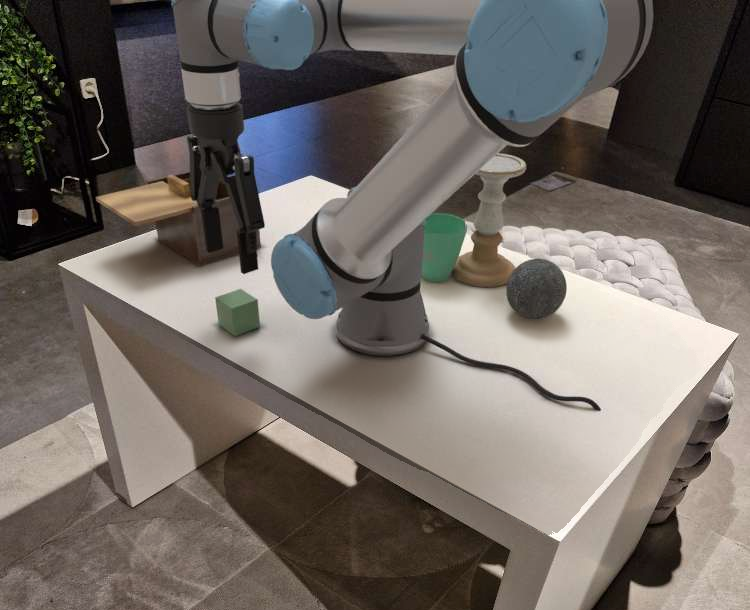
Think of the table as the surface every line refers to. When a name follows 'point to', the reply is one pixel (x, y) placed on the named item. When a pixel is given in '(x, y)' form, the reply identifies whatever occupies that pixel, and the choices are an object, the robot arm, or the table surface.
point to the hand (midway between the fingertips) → (232, 260)
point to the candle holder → (489, 227)
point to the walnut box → (200, 228)
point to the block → (237, 312)
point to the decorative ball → (536, 289)
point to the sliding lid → (150, 201)
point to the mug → (441, 245)
